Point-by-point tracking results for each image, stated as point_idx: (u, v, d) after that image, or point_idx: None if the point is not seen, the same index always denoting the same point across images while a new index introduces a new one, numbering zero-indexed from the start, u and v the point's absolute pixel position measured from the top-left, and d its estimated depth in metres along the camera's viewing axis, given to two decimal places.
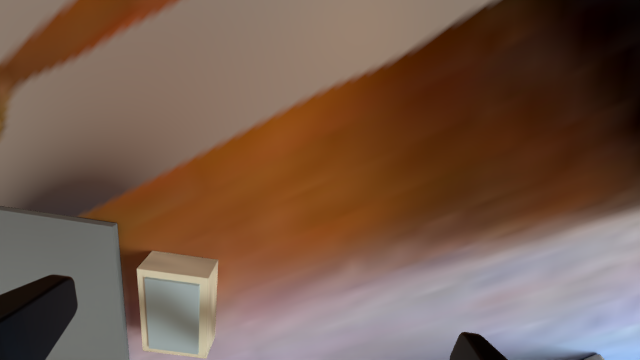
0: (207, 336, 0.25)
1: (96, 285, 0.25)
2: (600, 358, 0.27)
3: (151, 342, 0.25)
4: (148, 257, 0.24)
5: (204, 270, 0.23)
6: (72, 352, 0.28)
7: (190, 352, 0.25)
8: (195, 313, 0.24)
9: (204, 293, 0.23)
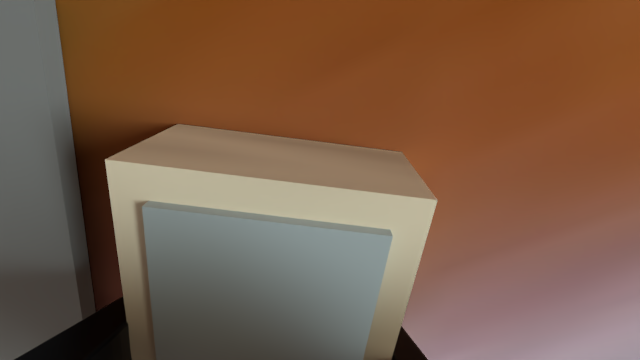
0: None
1: (0, 245, 0.08)
2: None
3: None
4: (157, 137, 0.06)
5: (392, 177, 0.06)
6: None
7: None
8: (351, 356, 0.06)
9: (403, 271, 0.05)
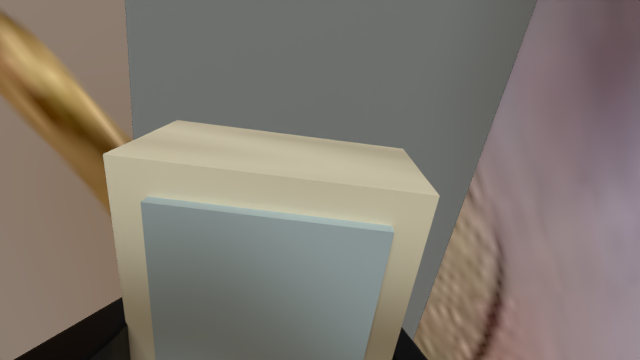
0: None
1: None
2: None
3: None
4: (157, 133, 0.06)
5: (393, 173, 0.06)
6: (424, 32, 0.15)
7: None
8: (352, 354, 0.06)
9: (405, 268, 0.05)
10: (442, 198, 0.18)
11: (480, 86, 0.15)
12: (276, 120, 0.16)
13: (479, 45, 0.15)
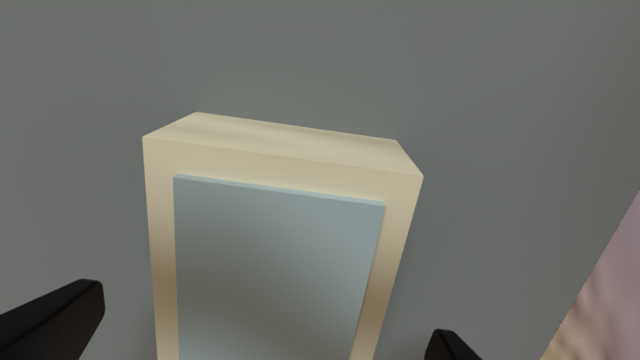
0: None
1: None
2: None
3: None
4: (182, 121, 0.07)
5: (386, 158, 0.06)
6: (530, 11, 0.07)
7: None
8: (349, 315, 0.07)
9: (395, 238, 0.06)
10: (528, 310, 0.10)
11: (629, 120, 0.08)
12: None
13: None
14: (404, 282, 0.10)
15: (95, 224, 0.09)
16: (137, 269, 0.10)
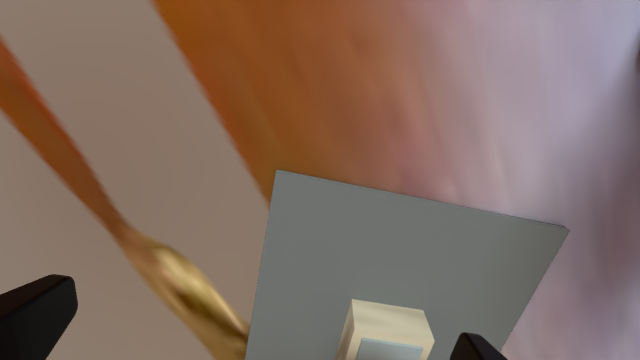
0: None
1: (363, 216, 0.19)
2: None
3: None
4: (355, 312, 0.21)
5: (422, 329, 0.20)
6: (471, 277, 0.21)
7: None
8: None
9: (424, 356, 0.20)
10: None
11: (506, 308, 0.22)
12: None
13: (508, 286, 0.21)
14: None
15: (300, 332, 0.23)
16: (312, 348, 0.23)
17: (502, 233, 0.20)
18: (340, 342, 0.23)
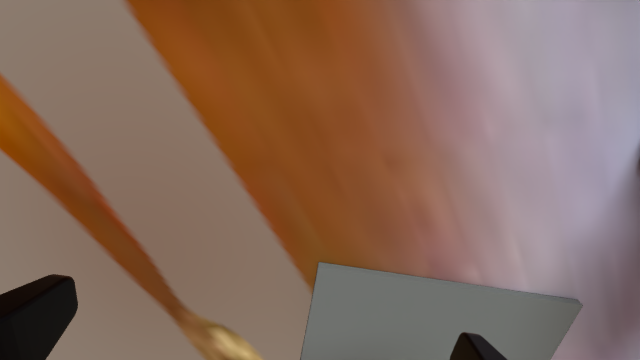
0: None
1: (396, 299, 0.22)
2: None
3: None
4: None
5: None
6: (494, 345, 0.23)
7: None
8: None
9: None
10: None
11: None
12: None
13: (528, 351, 0.23)
14: None
15: None
16: None
17: (522, 309, 0.22)
18: None
